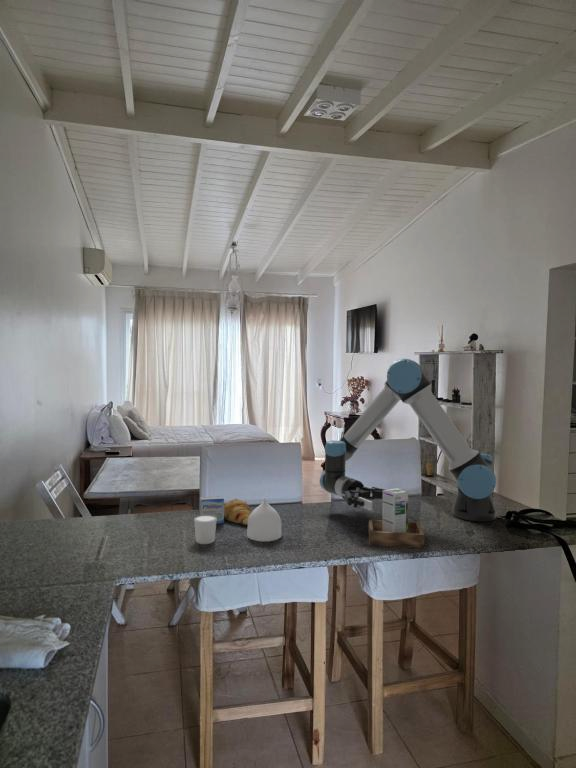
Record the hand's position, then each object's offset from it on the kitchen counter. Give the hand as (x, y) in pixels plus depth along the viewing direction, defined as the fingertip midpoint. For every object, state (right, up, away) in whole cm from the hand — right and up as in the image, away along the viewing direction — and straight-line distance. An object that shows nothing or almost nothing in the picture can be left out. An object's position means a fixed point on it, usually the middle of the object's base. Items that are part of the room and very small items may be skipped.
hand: (388, 503), depth 159 cm
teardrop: (-40, -10, 0) cm, 41 cm away
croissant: (-50, -10, +18) cm, 54 cm away
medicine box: (-58, -10, +13) cm, 60 cm away
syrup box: (+1, -10, -2) cm, 10 cm away
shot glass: (-57, -10, -5) cm, 59 cm away
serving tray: (+1, -11, -2) cm, 11 cm away
